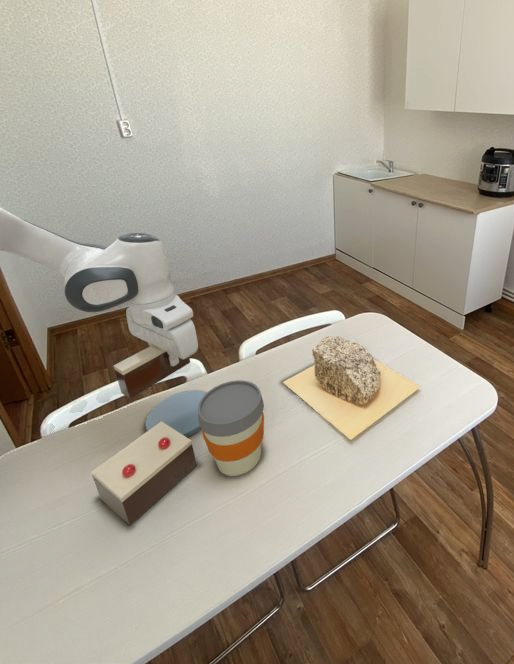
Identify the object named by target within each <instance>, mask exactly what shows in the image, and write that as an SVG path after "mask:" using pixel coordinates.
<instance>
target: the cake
mask: <svg viewBox="0 0 514 664" xmlns="http://www.w3.org/2000/svg"><path fill="white" fill-rule="evenodd" d="M197 467H198V463H197V460H196V455H195V450H194V446H193V442H192V440H191V439H190V438H188V437H185V436H184V435H182V434H181V433H179V432H177V431H176V430H174V429H173V428H171V427H170V426H168V425H166V424H165V423H163V422H162V421H161V422H160V423H158V424H157V425H156V426H154V427H153V428H151V429H150V430H149V431H147V430H146V432H145V433H143V434H141V435H140V436H139V437H137V438H136V439H134V440H133V441H132V442H131V443H129V444H128V445H127V446H124V448H123V449H121V450H119V451H118V452H117V453H115V454H114V455H113V456H111V457H110V458H108V459H107V460H105V461H104V462H103V463H101V464H100V465H99V466H97V467H96V468H94V469H93V470H92V471H90V473H91V476H92V479H93V481H94V484H95V488H96V490H97V493H98V496H99V498H100V500H101V501H102V502H103V503H104V504H105V505H107V506H108V507H109V508H110V509H111V510H112V511H113V512H114V513H115V514H116V515H117V516H119V517H120V518H121V519H122V520H123V521H124V522H125V523H126V524H127V525H129V526H132V525H133V524H134V523H135V522H136V521H137V520H139V519H140V518H141V517H142V516H143V515H144V514H145V513H147V512H148V511H149V510H150V509H151V508H152V507H153V506H154V505H156V503H157V502H158V501H160V500H161V499H162V498H164V496H165V495H167V494H168V493H169V492H170V491H171V490H172V489H173V488H174V487H175V486H176V485H178V484H179V483H180V482H181V481H182V480H183V479H185V477H186V476H187V475H189V474H190V473H191V472H193V470H194V469H195V468H197Z"/></svg>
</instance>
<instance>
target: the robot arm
mask: <svg viewBox="0 0 514 664" xmlns="http://www.w3.org/2000/svg"><path fill="white" fill-rule="evenodd" d="M0 252H5V253H11V254H14V255H16V256H19V257H22V258H24V259H27V260H29V261H33V262H35V263H38V264H39V265H43V266H45V267H48V268H51V269H53V270H54V271H57V272H58V273H59V274H60V275H61V276H62V277H63V279H64V280H63V281H64V282H63V283H64V284H63V285H64V296H65V299H66V300H67V302H68V303H69V305H71V306H72V307H73V308H74V309H77V310H78V311H81V312H86V313H99V312H104V311H107V310H110V309H112V308H116V307H118V306H121V305H122V304H125V303H127V306H128V308H126V312H125V314H126V315H125V317H126V321H127V326H128V330H129V333H130V334H131V335H132V336H134V337H136V338H137V339H140V340H142V341H143V342H146V343H147V344H148V347H150V346H152V345H154V346H156V347H158V348H160V349H162V350H164V351H166V352H167V353H168V354H169V358H167V361H168V364H169V365H171V366H175V365H177V364H178V363H179V358H181V359H186V358H187V357H189V358H190V357H191V356H192V355H194V354H196V353H197V351H198V349H199V342H198V336H197V331H196V327H195V324H194V322H193V320H192V318H193V317H194V310H193V309H192V307H190V306H189V305H188V304H187V303H186V302H184V300H182V299H181V297H180V296H179V295H178V294H176V290H175V286H174V284H173V282H172V280H171V272H172V271H171V266H170V265H171V264H170V262H169V261H170V260H169V258H168V255H167V251H166V248H165V246H164V243H163V242H162V240H160V239H159V238H158V237H157V236H155V235H153V234H149V233H144V232H131V233H126V234H122V235H119V236H118V237H116V239H115V240H114V242H112V243H111V244H110V245H109V246H108V247H107V246H105V245H101V244H95V243H85V242H79V241H75V240H72V239H69V238H67V237H65V236H62V235H59V234H57V233H55V232H53V231H51V230H48V229H46V228H44V227H42V226H39V225H37V224H35V223H32V222H30V221H28V220H25V219H23V218H21V217H18V216H17V215H15V214H13V213H11V212H9V211H8V210H6V209H5V208H3V207H1V206H0ZM178 357H179V358H178Z"/></svg>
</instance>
